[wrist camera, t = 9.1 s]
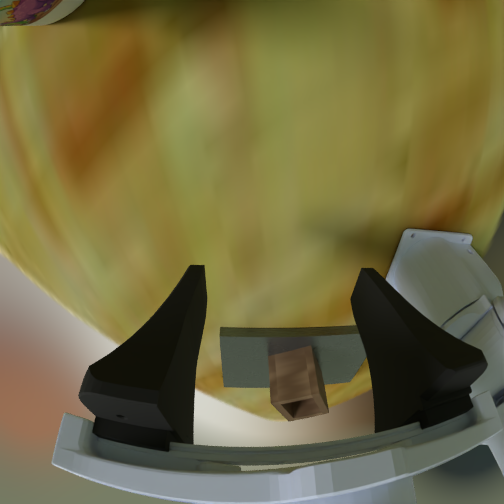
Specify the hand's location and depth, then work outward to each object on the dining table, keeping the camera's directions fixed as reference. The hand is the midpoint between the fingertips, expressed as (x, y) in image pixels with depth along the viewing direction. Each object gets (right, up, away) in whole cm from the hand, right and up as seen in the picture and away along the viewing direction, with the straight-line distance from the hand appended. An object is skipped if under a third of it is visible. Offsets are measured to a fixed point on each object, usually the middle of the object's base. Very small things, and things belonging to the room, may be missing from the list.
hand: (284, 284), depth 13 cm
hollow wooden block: (+4, -12, +19) cm, 23 cm away
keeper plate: (+4, -12, +20) cm, 24 cm away
